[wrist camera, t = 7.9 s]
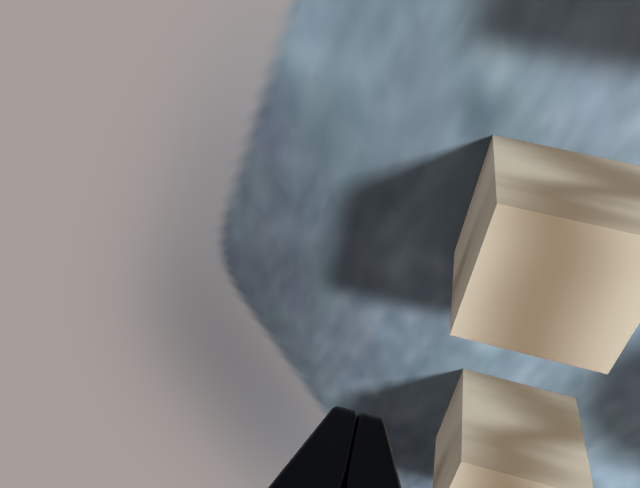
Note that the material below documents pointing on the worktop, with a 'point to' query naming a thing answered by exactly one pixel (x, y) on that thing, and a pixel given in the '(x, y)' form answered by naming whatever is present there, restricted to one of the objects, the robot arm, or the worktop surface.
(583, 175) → the plain block
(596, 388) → the worktop surface
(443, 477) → the one stroke block
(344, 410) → the robot arm
